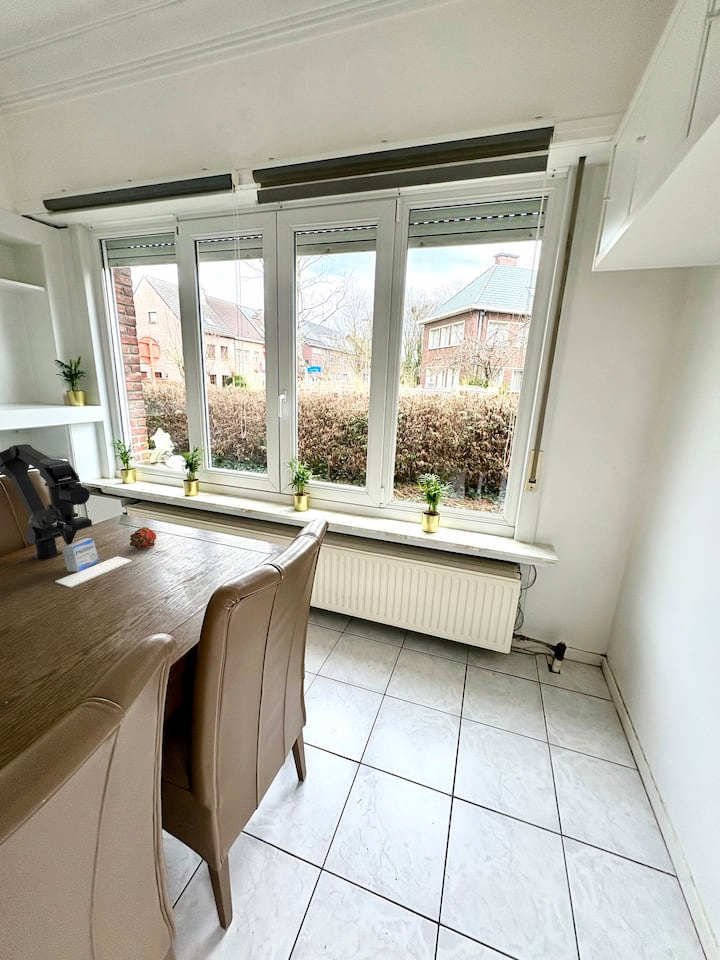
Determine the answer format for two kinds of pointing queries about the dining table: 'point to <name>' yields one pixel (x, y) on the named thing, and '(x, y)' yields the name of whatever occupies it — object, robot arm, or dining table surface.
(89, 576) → the mat
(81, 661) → the dining table surface
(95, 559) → the medicine box
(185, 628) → the dining table surface
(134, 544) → the dragon fruit
